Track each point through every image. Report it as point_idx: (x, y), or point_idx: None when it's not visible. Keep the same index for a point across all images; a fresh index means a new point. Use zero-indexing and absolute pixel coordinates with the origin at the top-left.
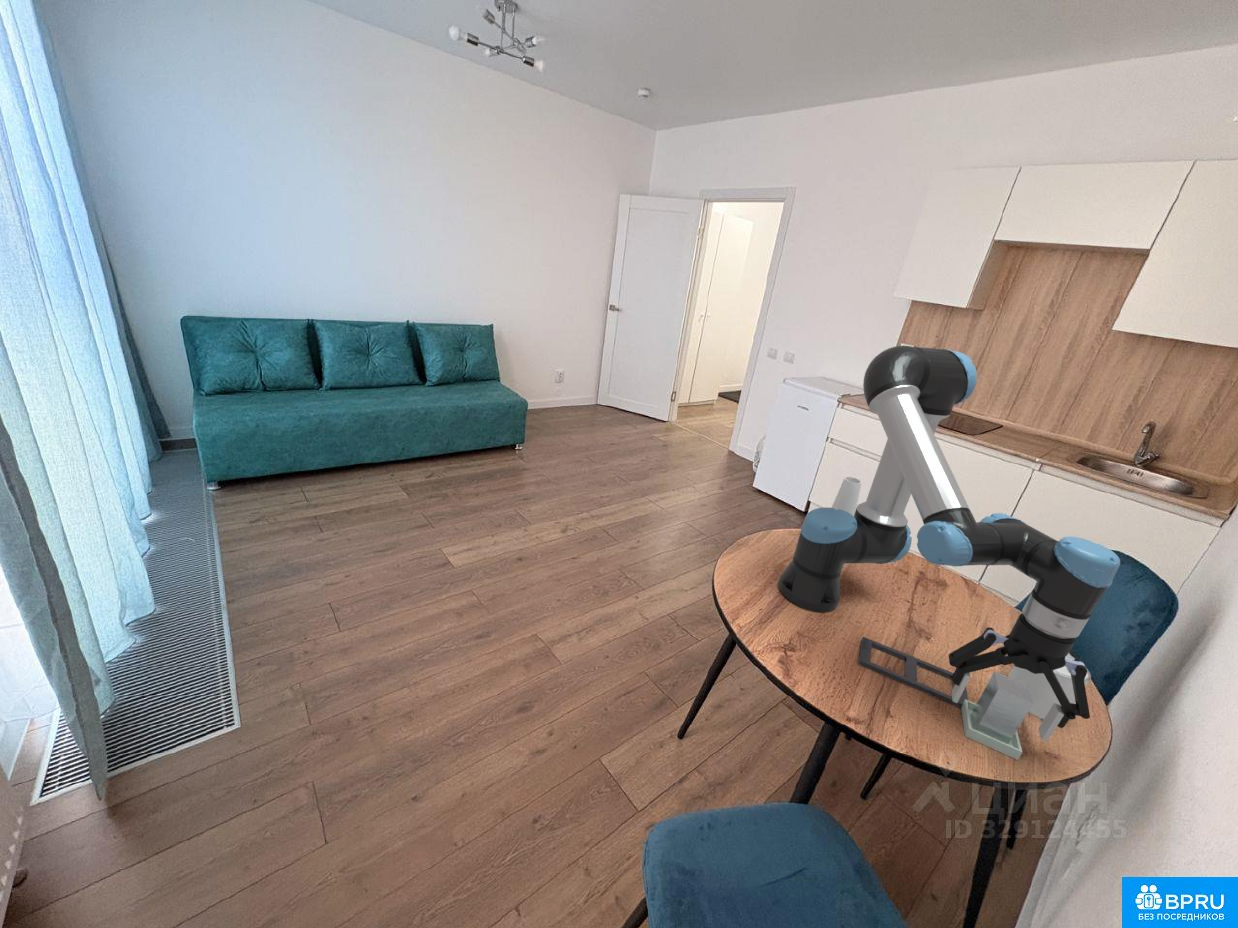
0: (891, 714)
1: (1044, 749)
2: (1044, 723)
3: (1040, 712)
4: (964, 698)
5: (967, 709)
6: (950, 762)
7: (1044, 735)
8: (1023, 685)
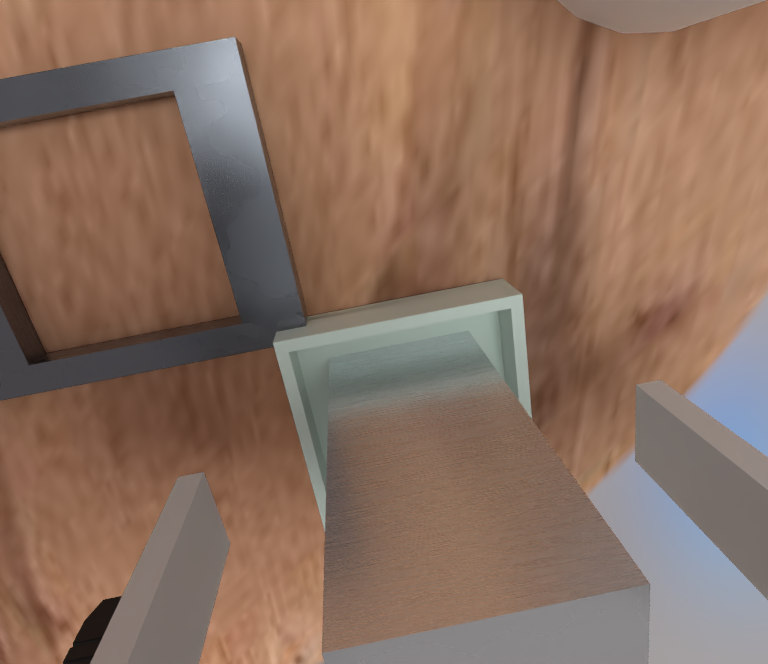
0: (59, 617)
1: (637, 305)
2: (679, 447)
3: (685, 22)
4: (277, 284)
5: (300, 419)
6: (305, 653)
7: (654, 477)
8: (603, 632)
